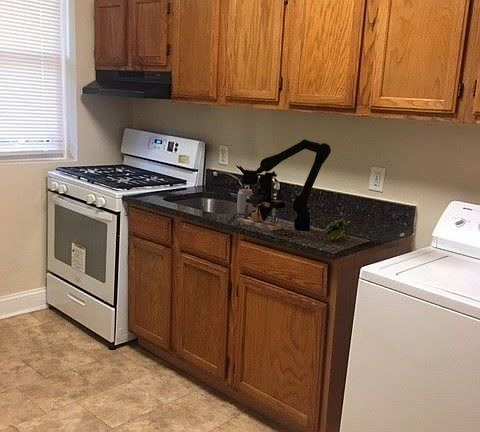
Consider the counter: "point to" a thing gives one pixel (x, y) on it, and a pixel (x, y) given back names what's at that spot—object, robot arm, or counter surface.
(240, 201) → the can
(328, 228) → the green leafy plant
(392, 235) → the counter surface
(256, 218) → the orange slider block
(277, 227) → the bolt plate
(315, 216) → the counter surface
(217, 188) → the counter surface
